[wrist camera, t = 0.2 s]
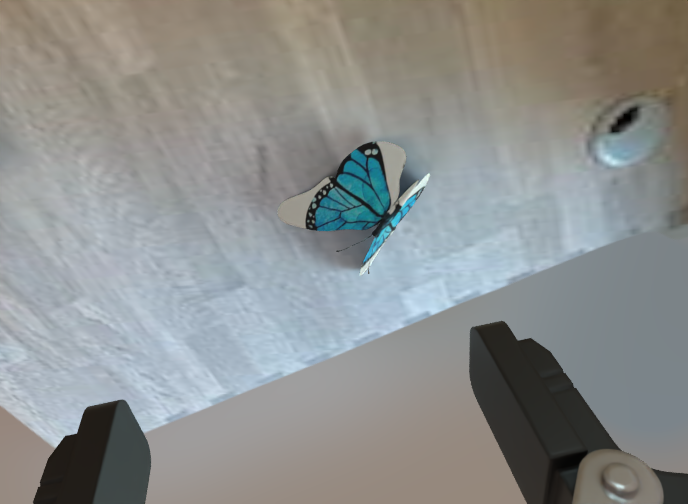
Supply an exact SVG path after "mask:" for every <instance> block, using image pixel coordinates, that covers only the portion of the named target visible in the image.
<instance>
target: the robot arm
mask: <svg viewBox="0 0 688 504" xmlns="http://www.w3.org/2000/svg"><path fill="white" fill-rule="evenodd" d="M469 367H470V369H469V372H470V381H471V385H472V389H473V392H474V394H475V397H476V399H477V402H478V403H479V405H480V408H481V410H482V412H483V414H484V416H485V418H486V420H487V422H488V424H489V426H490V428H491V430H492V432H493V434H494V436H495V439H496V441H497V442H498V445H499V447H500V449H501V451H502V453H503V455H504V457H505V459H506V461H507V463H508V465H509V467H510V469H511V471H512V474H513V476H514V478H515V480H516V482H517V484H518V486H519V488H520V490H521V492H522V494H523V496H524V498H525V500H526V502H527V504H688V474H684V473H672V472H664V471H659V470H655V469H652V468H650V467H649V466H648V465H647V464H645V463H644V462H643V461H642V460H640V459H638V458H637V457H635V456H633V455H631V454H629V453H626V452H624V451H622V450H620V449H619V448H618V446H617V445H616V444H615V443H614V441H613V440H612V438H611V437H610V436H609V434H608V433H607V431H606V430H605V429H604V427H603V426H602V424H601V423H600V421H599V420H598V419H597V417H596V416H595V415H594V413H593V412H592V410H591V409H590V407H589V406H588V405H587V403H586V402H585V400H584V399H583V397H582V396H581V395H580V393H579V392H578V390H577V389H576V388H574V387H573V383H572V382H571V380H570V379H569V378H568V376H567V375H566V373H563V369H562V368H561V366H560V365H559V363H558V362H557V361H556V359H555V358H554V356H553V355H552V353H551V352H550V351H548V350H547V349H545V348H544V347H543V346H541V345H540V344H539V343H537V342H536V341H534V340H533V339H531V338H529V339H524V340H520V341H517V339H516V337H515V336H514V334H513V333H512V331H511V330H510V328H509V327H508V325H507V324H506V323H505V322H503V321H499V322H494V323H490V324H485V325H481V326H476V327H472V328H471V330H470V364H469ZM150 469H151V455H150V449H149V445H148V442H147V440H146V438H145V436H144V434H143V432H142V430H141V428H140V426H139V424H138V422H137V420H136V419H135V417H134V415H133V413H132V411H131V409H130V407H129V405H128V404H127V402H126V401H125V400H118V401H113V402H108V403H103V404H99V405H94V406H89V407H87V408H86V409H85V411H84V413H83V416H82V419H81V422H80V426H79V429H78V432H77V434H73V435H68V436H65V437H64V438H63V440H62V441H61V442H60V444H59V445H58V446H57V448H56V449H55V450H54V452H53V453H52V454H51V456H50V457H49V458H48V461H47V464H46V467H45V469H44V473H43V475H42V478H41V481H40V487H38V490H37V493H36V495H35V498H34V501H33V503H34V504H145V500H146V494H147V488H148V482H149V475H150Z"/></svg>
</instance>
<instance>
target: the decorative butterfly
mask: <svg viewBox="0 0 688 504" xmlns="http://www.w3.org/2000/svg"><path fill="white" fill-rule="evenodd" d="M405 162H406V154H405V151H404V150H403V149H402V148H401V147H399V146H397V145H395V144H392V143H390V142H370V143H367V144H364V145H362V146H360V147H358V148H357V149H356V150H354V151H353V152H352V153H351V154H349V155H348V156H347V157H346V158H345V159H344V160H343V161H342V163H341V165H340V167H339V169H338V172H337V176H336V177H333V176H330V177H326V178H325V179H323V180H322V181H321V182H320V183H319V184H318V185H317V186H316V187H314V188H313V189H311V190H310V191H308V192H305V193H303V194H300V195H297V196H295V197H292V198H289V199H287V200H285V201H284V202H282V203H281V204H280V206H279V208H278V211H277V212H278V217H279V218H280V219H281V220H282V221H283V222H285V223H286V224H289V225H293V226H296V227H301V228H305V229H309V230H316V231H335V230H344V229H355V230H366V229H369V228H371V227H373V226H375V225H377V224H378V223H380V224H379V226H378V227H377V229H376V230H374V231H373V232H372V235H373V236H375V238H374V240H373V242H372V245H371V247H370V249H369V251H368V253H367V255H366V257H365V259H364V261H363V264H362V267H361V271H360V276H361V275H362V274H363V273H364V272H365V271H366V270H367V269H368V274H369V266H370V265H371V263H372V262H373V260H374V259H375V257H376V255H377V254H378V252H379V251H380V249H381V247H382V246H383V245H384V243H385V242H386V240H387V239H388V238H389V237H390V235H391V234H392V233H393V231H394V230H395V228H396V225H397V224H398V223H399V222H400V221H401V220H402V218H403V217H404V216H405V215H406V214H407V212H408V211H409V210H410V208H411V207H412V206H413V204H414V203H415V201H416V200H417V199H418V197H419V196H420V194H421V193H422V191H423V189H424V188H425V186H426V184H427V182H428V180H429V176H430V173H429V174H427V175H426V176H425V177H424V178H423V179H422V180H421V182H420V183H419V184H418V185H417V183H418V181H419V179H418V180H417V181H416V182H415V183H414V184H413V185H412V186H411V187H410V188H409V189H408V190H407V191H406V192H405V193H404V194H403V195H402V196H401V197H400V198H399V199H398V200H397V198H398V197H399V190H400V189H399V181H400V176H401V173H402V171H403V168H404V166H405ZM416 185H417V186H416ZM415 186H416V187H415ZM396 200H397V201H396ZM395 202H396V203H395ZM394 203H395V204H394ZM368 238H369V237H368ZM365 240H366V239H365ZM363 241H364V240H363ZM361 242H362V241H361ZM359 243H360V242H359ZM357 244H358V243H357ZM354 245H355V244H354ZM352 246H353V245H352ZM350 247H351V246H350ZM348 248H349V247H348ZM346 249H347V248H346ZM344 250H345V249H344ZM341 251H342V250H341ZM336 252H339V251H336Z"/></svg>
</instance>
